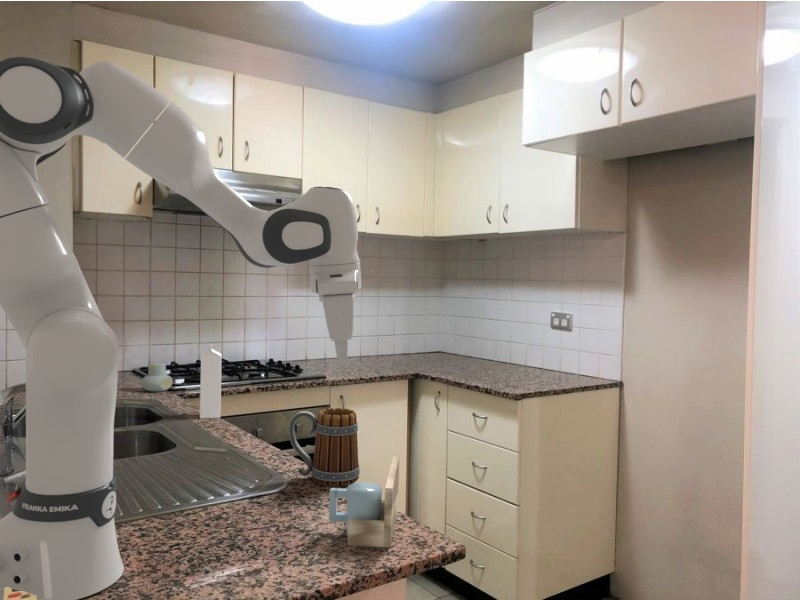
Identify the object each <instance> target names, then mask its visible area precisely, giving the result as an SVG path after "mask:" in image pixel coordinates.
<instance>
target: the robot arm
mask: <svg viewBox="0 0 800 600" xmlns="http://www.w3.org/2000/svg"><path fill="white" fill-rule="evenodd" d="M168 104H169V105H168ZM74 136H86V137H90V138H92V139H95V140H97V141H99V142H101V143H103V144H106V145H107V146H108V147H109V148H110V149H111V150H113V151H114V152H115V153H116V154H118V155H119V156H121V157H122V158H123V159H124V158H125V160H126V161H127V162H128V163H130V164H131V165H133V166H134V167H135V168H137V169H138V170H140V171H141V172H143V173H145V174H146V175H147V176H149V177H151V178H152V179H153V180H156V181H157V182H158V183H161V184H162V185H164V186H166V187H167V188H169V189H171V190H173V192H176V194H179V195H180V196H182V197H184V198H185V199H187V201H189V202H190V203H192V204H193V205H194V206H195V207H197V209H199V210H200V211H201V212H202V213H204V214H205V215H206V216H207V217H208V218H210V219H211V220H213V222H215V223H216V224H217V225H219V226H220V227H221V228H222V229H223V230H224V231H226V233H227V234H228V235H229V236H230V237H231V238H232V239H233V241H234V243H235V244H236V246H237V248H238V250H239V251H240V253H241V255H242V256H243V257H244V258H245V260H246V261H247V262H249V263H250V264H252V265H254V266H256V267H259V268H265V269H266V268H267V269H269V268H275V267H284V266H285V267H286V266H288V267H289V266H296V265H299V264H301V263H304V262H307V261H308V264H309V275H310V276H309V277H310V289H311V293H315V294H317V295H318V298H319V301H320V302H321V303H322V307H323V311H324V312H323V313H324V316H325V321H326V326H327V327H326V328H327V331H328V336H329V339H330V341H331V342H334V346H335V347H334V348H335V353H336V361H337V362H336V363H337V364H338V365H346V364H348V362H349V360H348V343H349V342H348V340H352V338H353V333H354V312H355V310H354V309H355V308H354V307H355V299H356V294H357V293H358V291H359V290H361V289H362V288H363V287H362V273H361V260H360V256H359V254H358V248H357V246H358V242H359V231H358V222H357V221H358V220H357V219H358V218H357V214H356V207H355V204H354V201H353V198H352V196H351V194H350V193H349V192H347V191H345V190H344V189H341V188H339V187H338V188H337V187H333V186H332V187H331V186H314V187H311V188H309V189H308V190H307V191H306V192H305V193H304V194H303V195H301V196H300V197H298V198H297V199H294V200H293V201H291V202H289V203H287V204H285V205H282V206H281V207H278V208H276V209H272V210H264V209H261V208H258V207H256V206H254V205H252V204H251V203H250V202H249V201H247V199H245V198H244V197H243V196H242V195H241V194H240V193H239V192H237V191H236V190H235V189H234V188H233V187H231V186H230V185H229V184H228V183H227V182H225V180H224V179H222V178H221V177H220V176H219V174H218V173H217V172H216V170H215V168H214V167H213V164H212V162H211V160H210V156H209V155H210V154H209V144H208V141H207V137H206V134H205V133H204V132H203V130H202V129H201V128H200V126H199V125H198V124H197V123H196V122H195V121H194V120H193V119H192V118H191V117H190V115H188V113H186V111H184V110H183V109H182V108H181V107H179V105H177V104H176V103H175V102H174V101H171V99H169V97H167V96H166V95H165V94H164V93H162V92H161V91H160V90H158V89H157V88H155V87H154V86H152V85H151V84H150V83H148V82H147V81H146V80H144V79H142V78H141V77H140V76H137V75H136V74H135V73H133V72H132V71H129V70H128V69H126V68H124V67H122V66H120V65H118V64H117V63H115V62H112V61H106V60H101V61H97V62H94V63H92V64H90V65H88V66H86V67H84V68H83V69H82V70H81V71H80V72H79V71H77V70H76V69H74V68H70V67H66V66H62V65H58V64H54V63H50V62H47V61H44V60H41V59H37V58H33V57H26V56H12V57H8V58H4V59H2V60H0V307H1V308H2V310H3V312H4V314H5V315H6V317H7V319H8V320H9V322H10V324H11V326H12V327H13V329H14V330H15V331H14V332H15V333H16V334H17V336H18V338H19V339H20V342H21V344H22V345H23V347H24V349H25V483H24V484H22V485H20V486H18V487H17V488H16V489H15V490H14V491H12V492H9V493H8V494H6V495H5V497H8V498H7V499H6V501H5V503H10V502H12V501H14V500H15V499H16V502H15V503H14V506H13V509H12V511H10V512H9V513H8V514H6V515H5V516H3V517H2V518H0V600H3V595H4V588H5V587H10V588H12V589H15V590H20V591H25V592H28V593H31V594H33V595H34V594H35V595H36V596H37V597H36V598H37V600H79V599H83V598H86V597H88V596H89V597H90V596H92V595H94V594H97V593H99V592H102V591H103V590H105V589H107V588H109V587H110V586H112V585H113V584H114V583H116V582H117V581H118V580H119V579H120V578H121V576H122V575H123V574H124V570H125V567H124V566H125V565H124V563H123V561H122V558H121V553H120V549H119V545H118V540H117V532H116V525H115V515H116V510H117V509H116V508H117V479H116V475H115V474H114V433H115V431H114V429H115V426H114V425H115V416H116V415H115V414H116V405H117V404H116V403H117V396H118V395H117V392H118V382H119V381H118V380H119V363H120V362H119V361H120V346H119V342H118V339H117V338H118V337H117V336H116V334H115V332H114V330H113V329H112V328H111V327H110V326H109V325H108V324H107V322H106V321H105V319H104V318H103V315H102V313H101V311H100V309H99V307H98V305H97V302H96V300H95V298H94V296H93V294H92V292H91V290H90V287H89V285H88V283H87V281H86V280H87V279H86V278H85V276H84V274H83V272H82V271H83V270H82V269H81V267H80V264H79V262H78V259H77V257H76V256H75V254H74V253H75V252H73V250H72V247H71V245H70V242H69V241H68V239H67V237H66V235H65V233H64V230H63V229H62V226H61V225H60V222H59V220H58V218H57V215H56V213H55V212H54V210H53V208H52V206H51V203H50V201H49V199H48V198H47V195H46V194H45V191H44V189H43V188H42V185H41V183H40V180H39V177H38V173H37V166H38V165H40V164H41V163H43V162H44V161H46V160H48V158H51V157H52V156H54V155H56V154H57V153H58V152H60V151H61V150H62V149H63V148H64V147H65V146H66V144H67V143H68V141H69V140H70V139H71V138H72V137H74Z"/></svg>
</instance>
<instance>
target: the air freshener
mask: <svg viewBox="0 0 800 600" xmlns="http://www.w3.org/2000/svg"><path fill="white" fill-rule="evenodd" d="M147 368H148V372H147V375H145V376H144V377H142V379H141V380H140V386H141V387H142V388H143V390H145V391H147V392H153V393H154V392H155V393H161V392H165V391H167V390H169V389H170V388H171V387H172V385H173V383H174V382H173V378H172V377H171V376H170V375H168V374H167V373H166V371H167V370H166V369H167V364H166V363H165V362H160V361H159V362H158V361H157V362H155V361H154V362H150V363H148V367H147Z"/></svg>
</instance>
